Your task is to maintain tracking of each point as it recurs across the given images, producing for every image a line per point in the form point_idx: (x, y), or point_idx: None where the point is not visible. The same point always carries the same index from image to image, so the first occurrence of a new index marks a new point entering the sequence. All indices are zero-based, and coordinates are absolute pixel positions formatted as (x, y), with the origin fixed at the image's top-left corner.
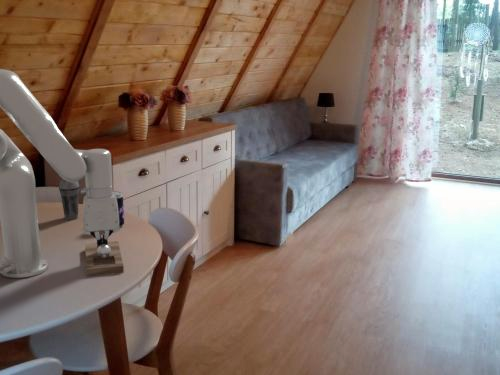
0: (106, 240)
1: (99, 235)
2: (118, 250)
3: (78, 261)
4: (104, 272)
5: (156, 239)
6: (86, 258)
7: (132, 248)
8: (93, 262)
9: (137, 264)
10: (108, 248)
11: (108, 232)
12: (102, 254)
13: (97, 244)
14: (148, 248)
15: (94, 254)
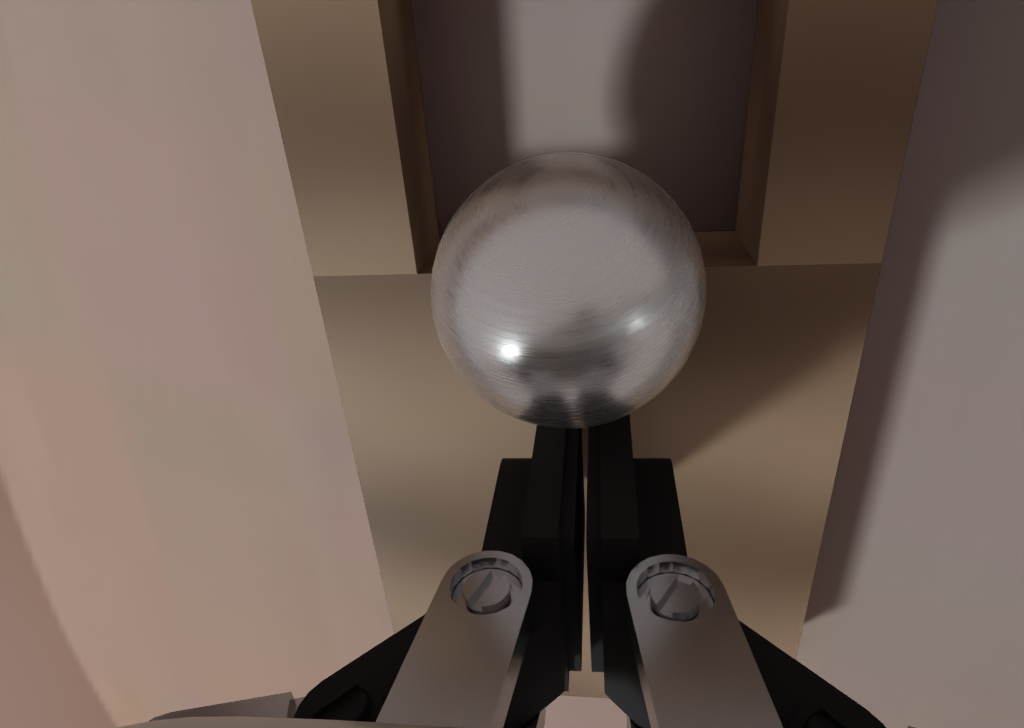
0: (500, 550)
1: (643, 645)
2: (373, 450)
3: (920, 377)
4: None
5: (96, 683)
6: (871, 264)
7: (276, 567)
8: (738, 239)
9: (108, 85)
10: (462, 251)
11: (403, 688)
12: (602, 159)
13: (676, 508)
14: (111, 530)
15: (714, 396)
